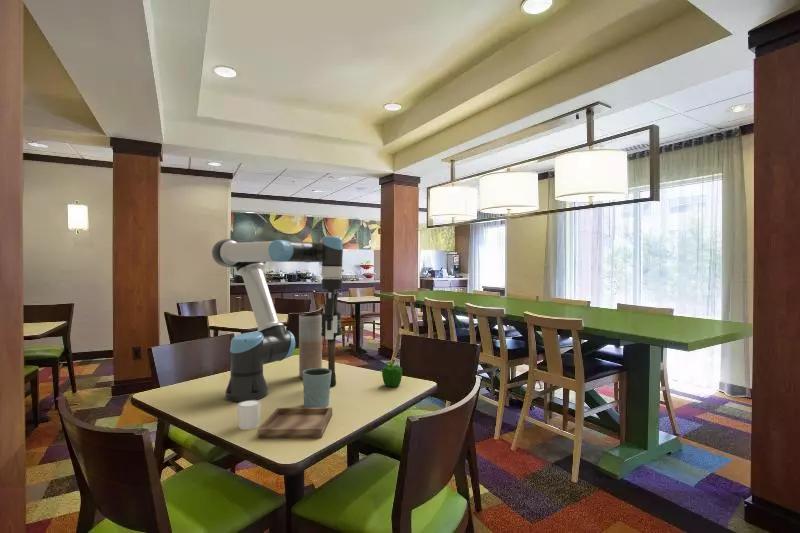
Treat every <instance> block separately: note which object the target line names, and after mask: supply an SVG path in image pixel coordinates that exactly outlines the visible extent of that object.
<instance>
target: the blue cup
mask: <svg viewBox="0 0 800 533" xmlns="http://www.w3.org/2000/svg"><path fill="white" fill-rule="evenodd" d="M331 373H332V371H331V370H329V369H328V368H323V367H322V368H312V369H307V370H304V371H303V378H302V385H303V406H304V408H328V406H329V405H330V392H331V387H330V384H331Z"/></svg>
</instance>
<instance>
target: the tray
mask: <svg viewBox="0 0 800 533" xmlns="http://www.w3.org/2000/svg"><path fill="white" fill-rule="evenodd" d="M332 417H333V407H325V408H305V407H276V409H275V410H274V411H273V412H272V414H270V416H269V417H268V418H267V419H266V420H265V421H264V422H263V423H262V425H261V426H260V427H259V428H258V429H257V430H258V439H316V438H317V439H319V438H320V439H322V438H323V436H324V433H325V431H326V429H327V427H328V425H329V423H330V420H331V419H332Z"/></svg>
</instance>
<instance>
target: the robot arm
mask: <svg viewBox="0 0 800 533" xmlns="http://www.w3.org/2000/svg"><path fill="white" fill-rule="evenodd" d="M343 245H344V244H343V238H342V237H340V236H335V235H334V236H332V235H331V236H329V235H328V236H327V235H326V236H323V237H322V238H321V242H317V241H316V242H310V241H295V240H287V239H275V240H272V241H271V240H269V241H268V240H267V241H255V240H252V239H251V240H250V239H247V240H245V239H234V238H233V239H230V238H226V239H221V240H219V241H217V242H216V243H215V244H214V245H213V247H212V250H211V256H212V259H213V260H214V262H215V263H216V264H218V265H219V266H222V267H225V268H235V270H236V272H237V274H238V275H239V276H240V277H242V280H243V284H244V287H245V290H246V293H247V296H248V299H249V302H250V306H251V309H252V312H253V316H254V318H255V319H254V320H255V322H256V325H257V331H250V332H243V333H240V334H237V335H235V336H234V337H232V338H231V340H230V348H229V352H230V355H229V356H230V360H229V362H230V365H229V366H230V367H229V368H230V377H229V381H228V383H227V386H226V390H225V399H226V400H227V401H229V402H235V403H237V402H238V403H240V402H243V401H248V400H260V399H263V398H265V397H267V396H268V394H269V388H268V384H267V380H266V379H265V375H264V365H266V364H271V363H275V362H281V361H283V360H285V359H288V358H290V357H291V356H292V355H293V353H294V351H295V349H296V338H295V336H294V334H293V333H292V332H291V331H290V330H287V329H286V327H285V324H284V323H282V322H280V320H279V317H278V315H277V311H276V308H275V305H274V302H273V299H272V295H271V292H270V290H269V286H268V283H267V280H266V276H265V273H264V270H265V268H266V263H269V262H270V263H273V262H274V263H275V262H276V263H277V262H278V263H290V262H291V263H292V262H294V263H307V264H308V263H321V278H322V279H321V289H322V290H327V292H326V293H325V312H324V313H325V318H324V319H323V320H324V321H326V330H325V336H324V337H325V340H327V339H333V333H337V316H336V315H339V313H340V312H339V311H338V297H339V295H338V291H337V290H342V289H343V279H342V278H343V273H345V272H344V271H345V270H344V269H343V254H344V246H343ZM338 312H339V313H338Z"/></svg>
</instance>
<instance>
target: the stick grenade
mask: <svg viewBox="0 0 800 533" xmlns="http://www.w3.org/2000/svg"><path fill="white" fill-rule="evenodd" d="M338 313H339V315H336V316H337V333H333V339H326V342H327V352H328V353H327V354H328V356H327V357H328V358H327V359H328V360H327V362H328V365H327V366H328V368H327V369H329V370H331V371H332V373H331V384H330V388H332V387H335V386H336V385H337V379H336V378H337V376H336V354H335V353H336V338H337V337H338V336H341V335H343V333H342V313H341V312H339V311H338ZM321 315H322V333H321V335H322V337H325V330H326V321H324V320H323V319H324V318H325V312H322V313H321Z"/></svg>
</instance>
